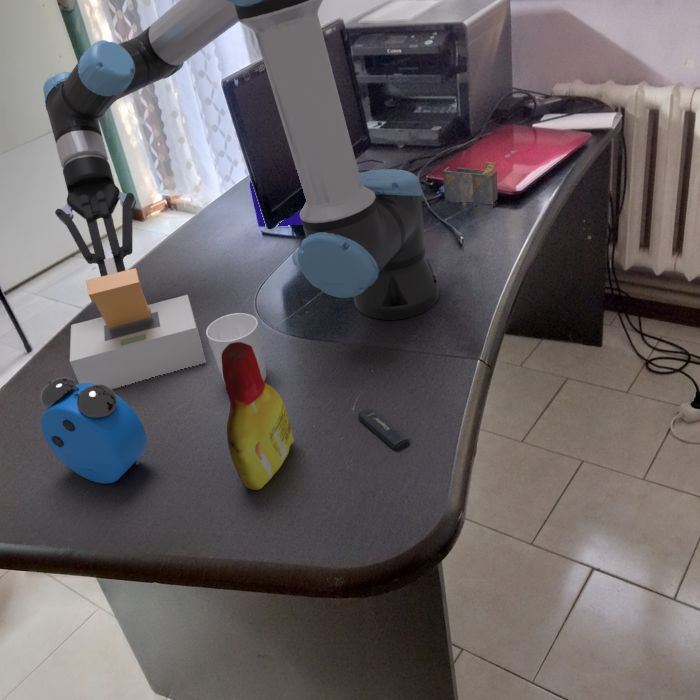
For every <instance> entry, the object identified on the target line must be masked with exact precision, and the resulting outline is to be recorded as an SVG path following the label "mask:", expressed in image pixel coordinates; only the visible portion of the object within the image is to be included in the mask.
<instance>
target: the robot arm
mask: <svg viewBox="0 0 700 700" xmlns="http://www.w3.org/2000/svg"><path fill="white" fill-rule="evenodd" d="M323 1H324V0H179V1H177V2H176V3H175V4H174V5H173V6H172V7H170V8H169V9H168V10H167V11H166V12H165V13H163V14H162V15H161V16H159V18H157V19H156V20H155V21H154V22H152V24H151V25H150V26H148V27H147V28H146V29H145V30H143V31H142V32H141V33H139V34H138V35H137V36H135V37H133V38H131V39H129V40H126V41H124V42H120V43H117V42H115V41H108V40H105V39H104V40H103V39H102V40H101V39H100V40H98V41H95V42H94V43H93V44H92V45H90V47H89V48H88V49H87V50H85V51H84V52H83V53H82V56H80V58H79V60H78V62H77V63H76V65H75V67H74V68H73V69H72V70H71V72H70V71H69V72H68V71H67V72H65V71H64V72H59V73H55V75H54V76H51V77H49V78H47V79H46V81H45V82H44V84H43V95H44V105H45V110H46V111H47V115H48V116H47V117H48V119H49V122H50V127H51V129H52V133H53V138H54V141H55V146H56V147H55V148H56V150H57V154H58V157H59V162H60V166H61V168H62V174H63V178H64V181H65V186H66V190H67V197H66V204H65V205H64V206H63V207H62V208H57V209H56V210H55V216H56V217H57V218H58V219H59V220H60V222H61V223H63V224H64V225H65V226H66V227H67V230H68V231H69V233H70V234H71V236H72V238H73V240H74V243H75V245H76V246H77V247H78V250H79V252H80V254H82V255H81V256H82V257H83V259H85V262H86V263H88V264H90V265H92V264H97V267H98V270H99V274H100V277H102V276H106V275H110V274H114V273H118V272H122V271H126V267H125V262H124V258H125V257H126V256H129V255H132V254H133V212H134V210H135V207H136V205H137V200H136V197H135V196H134V194H133V193H132V192H128V193H125V192H121V191H120V189H119V187H118V186H117V185H116V184H115V180H114V179H115V178H114V175H113V172H112V169H111V164H110V163H109V161H108V160H109V157H108V153H107V149H106V146H105V142H104V138H103V133H102V131H101V125H100V123H99V122H100V119H101V118H102V117H103V116H104V115H105V113H106V112H107V111H108V110H109V109H110V108H111V106H112V105H113V104H114V103H115V102H117V101H118V100H120V99H122V98H124V97H126V96H128V95H130V94H131V95H132V94H133V93H134V92H138V91H139V90H141V89H143V88H145V87H147V86H149V85H152V84H154V83H156V82H159V81H161V80H164V79H168V78H169V77H171V76H173V75H175V74H176V73H177V72H178V71H180V70H181V69H183V66H184V64H185V62H187V61H188V60H189V59H190V58H192V57H193V56H194V55H196V54H197V53H198V52H200V51H201V50H203V49H204V48H205V47H206V46H208V45H209V44H210V43H212V42H214V41H215V40H216V39H217V38H219V37H220V36H222V34H224V33H225V32H226V31H228V30H230V29H231V28H232V27H233V26H235V25H236V24H237V23H241V24H242V25H244V26H246V27H248V28H249V29H251V30H252V31H253V33H254V34H255V38H256V41H257V44H258V47H259V51H260V55H261V57H262V60H263V63H264V67H265V70H266V72H267V73H266V74H267V77H268V81H269V83H270V87H271V90H272V93H273V96H274V97H273V98H274V100H275V102H276V107H277V111H278V113H279V117H280V120H281V124H282V127H283V130H284V133H285V136H286V140H287V143H288V146H289V149H290V153H291V157H292V159H293V162H294V166H295V170H297V173H298V176H299V180H300V183H301V186H302V189H303V193H304V196H305V199H306V202H305V204H304V206H303V208H302V209H301V211H300V218H301V222H302V225H303V231H304V235H305V238H303V240H302V241H301V243H300V246H299V249H298V252H297V261H298V265H299V268H300V271H301V272H302V274H303V275H304V277H305V278H306V280H307V281H308V282H309V283H310V284H311V285H312V286H313V287H315V288H317V289H319V290H321V292H322V293H325V294H326V295H328V296H332V297H335V298H340V299H342V298H344V299H348V298H353V302H354V306H355V309H356V310H357V311H358V312H359V313H361V314H362V315H363V316H367V317H369V318H371V319H376V320H385V321H389V320H390V321H395V320H397V321H398V320H402V319H403V320H404V319H408V318H413V317H416V316H419V315H421V314H422V313H425V312H427V311H429V310H430V309H431V308H433V306H435V305H436V303H437V302H438V300H439V297H440V291H439V283H438V278H437V276H436V275H435V272H434V271H433V267H432V266H431V263H430V260H429V259H428V256H427V254H426V242H425V230H424V216H423V201H422V196H423V193H422V191H421V186H420V180H419V177H418V176H417V175H416V174H414V173H413V172H410V171H409V170H408V171H407V170H404V169H395V168H391V169H389V168H386V169H385V168H381V169H373V170H372V169H371V170H368V171H364V172H363V171H362V172H360V171H359V168H358V165H357V161H356V157H355V152H354V148H353V145H352V141H351V137H350V133H349V131H348V126H347V123H346V118H345V115H344V111H343V107H342V102H341V99H340V96H339V92H338V88H337V84H336V79H335V76H334V73H333V72H334V71H333V69H332V68H333V67H332V64H331V60H330V56H329V52H328V49H327V44H326V42H325V38H324V33H323V29H322V25H321V22H320V19H319V14H318V13H319V9H320V6H321V5H322V3H323ZM119 202H120V205H121V207H122V210H121V212H122V213H121V218H122V221H121V223H122V224H121V225H122V230H121V233H122V234H121V237H122V239H121V240H122V242H121V244H122V245H121V246H120V242H119V239H118V235H117V232H116V227H115V224H114V219H113V215H112V214H114V211H115V210H116V207H117V205H118V203H119ZM73 211H74V212H75V213H76V214H77V215H79V216H80V217H82V218H83V219H84V220H86V224H87V227H88V233H89V237H90V239H91V243H92V249H93V252H94V253H92V252H91V251H90V249H89V247H88V245H87V242H85V239H84V238H83V236H82V235H81V233H80V230H79V229H78V227H77V225H76V224H75V222H74V221H73V219H74V217H75V216H74V214H73ZM99 219H102V220H103V224H104V228H105V232H106V235H107V239H108V242H109V246H110V250H111V252H110V253H111V255H112V257H107V258H106V254H105V250H104V246H103V242H102V239H101V234H100V230H99V225H98V222H97V221H98V220H99Z"/></svg>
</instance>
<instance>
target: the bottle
mask: <svg viewBox="0 0 700 700" xmlns="http://www.w3.org/2000/svg"><path fill="white" fill-rule="evenodd" d="M222 371H223V377H222V379H223V378H224V380H223V383H224V382H225V383H224V386H225V385H226V386H225V391H226V394H227V395H228V400H229V405H230V406H229V414H228V418H227V423H226V438H227V439H226V441H227V446H228V450H229V453H230V457H231V460H232V463H233V465H234V467H235V470H236V472H237V475H238V477H239V480H240V482H241V483H242V484H243V485H244V486H245V487H246V488H247V489H250V490H253V491H255V490H256V491H258V490H261V489H262V488H264V486H265V485H267V483H269V481H270V480H271V479H273V476H275V474H276V473H277V472H278V471H279V470H280V468H281V467H282V465H283V463H284V462H285V461H286V459H287V457H288V456H289V451H290V447H291V446H292V444H293V443H294V442H295V439H294V436H293V431H292V425H291V420H290V417H289V414H288V410H287V408H286V405H285V402H284V400H283V398H282V396H281V395H280V393H278V392H277V390H276V389H274V387H273V386H271V385H270V384H268V383H266V382H265V381H263V379H262V377H261V373H260V369H259V367H258V362H257V359H256V357H255V354H254V352H253V349H252V346H250V345H248V344H245V343H242V342H235V343H231V344H229V345H228V346H227V347H226V348H225V349H224V350H223V352H222Z"/></svg>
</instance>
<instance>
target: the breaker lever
mask: <svg viewBox="0 0 700 700" xmlns="http://www.w3.org/2000/svg"><path fill="white" fill-rule="evenodd" d="M125 270H126V269H125ZM85 282H86V283H85V284H86V287H87V295H88V297H89V299H90V301H91V303H94V304H95V305H96V307H97V309H98V312H99V313H100V314H101V317H103V319H104V321H105V323H106V325H107V328H108V330H109V331H110V330H114V329H118V328H121V327H125V326H129V325H133V324H137V323H140V322H144V321H148V320H152V319H153V316H152V313H151V310H150V309H149V306H148V305H149V304H148V301H147V299H146V297H145V294H144V291H143V287H142V282H141V279H140V275H139V273H138V270H137V268H136V267H135V268H131V269H127V270H126V271H122V272H118V273H114V274H110V275H106V276H102V277H101V276H98V277H95V278H91V279H86V280H85Z"/></svg>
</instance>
